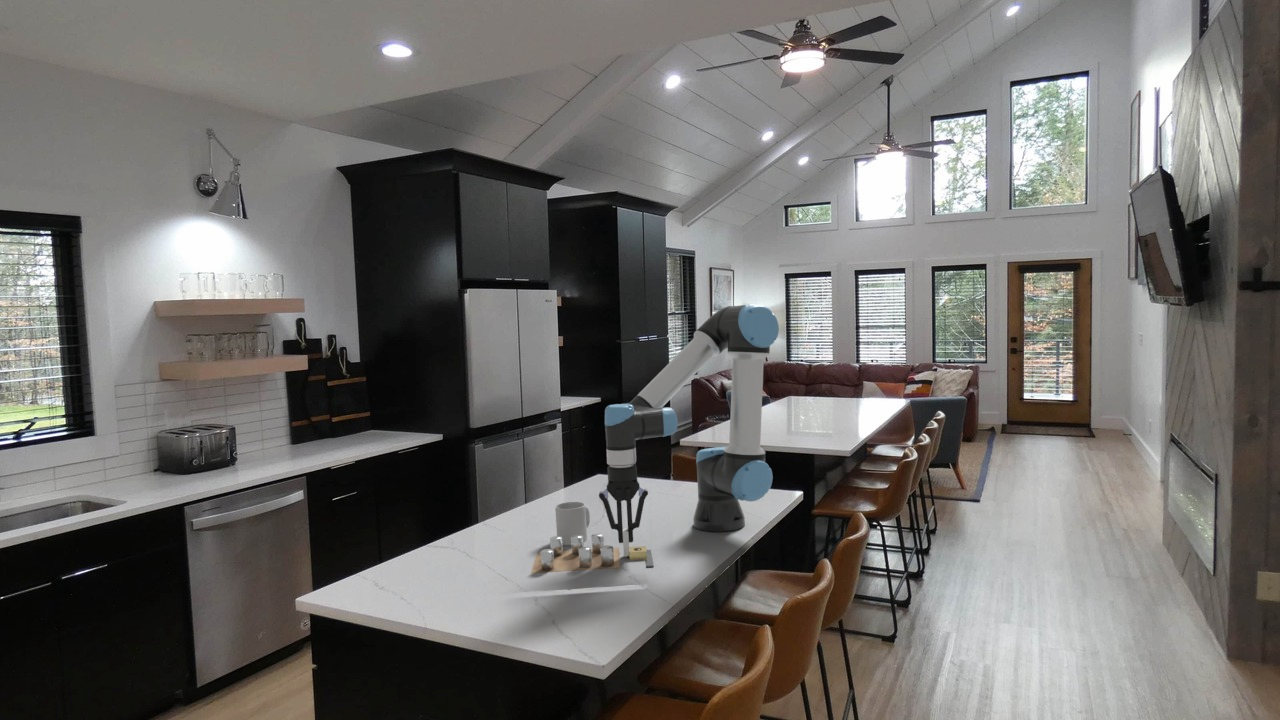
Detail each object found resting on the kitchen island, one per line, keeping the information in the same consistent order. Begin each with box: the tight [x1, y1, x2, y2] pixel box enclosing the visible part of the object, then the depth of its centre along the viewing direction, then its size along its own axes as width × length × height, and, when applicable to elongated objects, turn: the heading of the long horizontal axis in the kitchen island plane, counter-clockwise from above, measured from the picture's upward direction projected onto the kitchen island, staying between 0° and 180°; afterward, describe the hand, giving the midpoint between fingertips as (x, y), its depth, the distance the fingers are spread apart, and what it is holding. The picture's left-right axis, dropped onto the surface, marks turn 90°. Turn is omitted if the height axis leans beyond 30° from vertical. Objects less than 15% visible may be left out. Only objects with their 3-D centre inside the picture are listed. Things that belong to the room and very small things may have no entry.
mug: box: [554, 501, 591, 546], centre depth 213 cm, size 12×8×11 cm
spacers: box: [540, 533, 614, 571], centre depth 195 cm, size 18×14×4 cm
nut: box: [629, 545, 647, 562], centre depth 195 cm, size 4×4×3 cm
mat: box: [644, 549, 655, 568], centre depth 195 cm, size 8×13×1 cm, turn 2°
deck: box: [530, 547, 621, 574], centre depth 195 cm, size 22×16×1 cm
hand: (626, 554), depth 195 cm, fingers closed
